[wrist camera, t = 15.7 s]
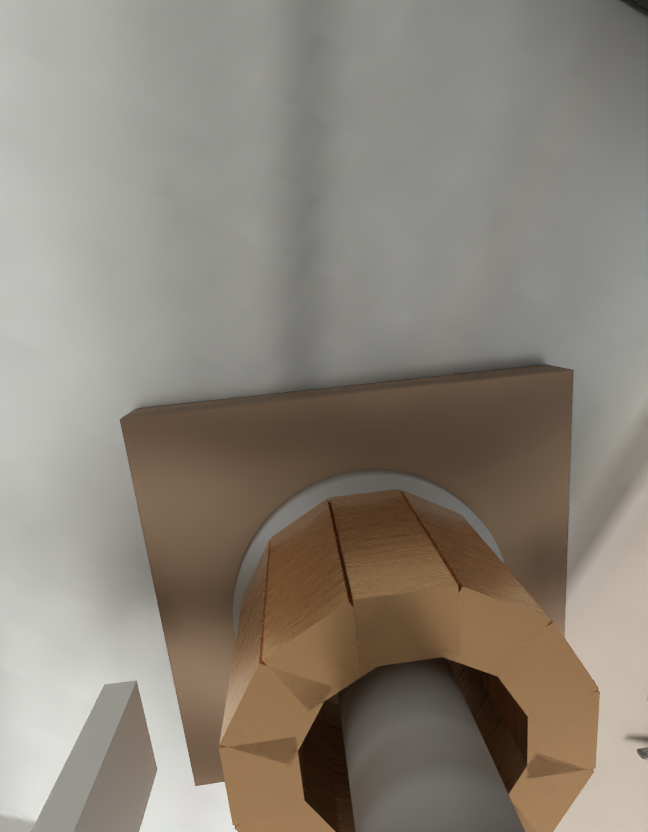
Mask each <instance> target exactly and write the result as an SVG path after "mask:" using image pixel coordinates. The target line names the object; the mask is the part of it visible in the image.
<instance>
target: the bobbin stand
mask: <svg viewBox="0 0 648 832" xmlns="http://www.w3.org/2000/svg"><path fill="white" fill-rule="evenodd" d="M572 395H573V370H571V369H566V368H561V367H556V366H551V365H538V366H529V367H520V368H510V369H501V370H492V371H483V372H473V373H464V374H455V375H445V376H436V377H427V378H417V379H408V380H399V381H390V382H380V383H371V384H362V385H352V386H343V387H334V388H324V389H315V390H306V391H296V392H287V393H278V394H269V395H259V396H250V397H241V398H231V399H222V400H213V401H203V402H194V403H185V404H175V405H166V406H157V407H148V408H138V409H135V410H134V411H132V412H130V413H129V414H127V415H126V416H124V417H123V418H121V419H120V423H121V427H122V432H123V437H124V442H125V447H126V452H127V456H128V461H129V466H130V471H131V476H132V481H133V486H134V490H135V495H136V500H137V505H138V510H139V515H140V519H141V524H142V529H143V534H144V539H145V544H146V549H147V553H148V558H149V563H150V568H151V573H152V578H153V583H154V587H155V592H156V597H157V602H158V607H159V612H160V616H161V621H162V626H163V631H164V636H165V641H166V646H167V650H168V655H169V660H170V665H171V670H172V675H173V679H174V684H175V689H176V694H177V699H178V704H179V709H180V713H181V718H182V723H183V728H184V733H185V738H186V743H187V747H188V752H189V757H190V762H191V767H192V772H193V776H194V781H195V786H199V785H205V784H212V783H218V782H225V779H224V774H223V769H222V763H221V758H220V752H219V743H220V737H221V730H222V724H223V718H224V712H225V705H226V699H227V693H228V686H229V680H230V674H231V667H232V661H233V655H234V649H235V642H236V636H237V630H238V623H239V617H240V611H241V605H242V598H243V595H244V593H245V590H246V588H247V586H248V584H249V582H250V580H251V578H252V575H253V573H254V571H255V569H256V567H257V565H258V562H259V560H260V558H261V556H262V554H263V552H264V550H265V547H266V545H267V543H268V541H269V540H271V537H272V536H274V535H275V534H277V533H278V532H279V531H281V530H282V529H284V528H285V527H287V526H288V525H289V524H291V523H292V522H294V521H295V520H297V519H298V518H299V517H301V516H302V515H304V514H305V513H307V512H308V511H310V510H311V509H312V508H314V507H315V506H317V505H318V504H320V503H321V502H322V501H324V500H325V499H328V500H329V502H330V497H336V496H344V495H353V494H361V493H369V492H377V491H386V490H394V489H399V491H401V489H402V490H404V491H406V492H409V493H411V494H414V495H416V496H418V497H421V498H423V499H426V500H428V501H431V502H433V503H435V504H438V505H440V506H443V507H445V508H448V509H450V510H452V511H455V512H457V513H460V514H461V515H462V516H463V517H464V518H465V519H466V520H467V521H468V523H469V524H470V525H471V526H472V527H473V528H474V530H475V531H476V532H477V533H478V534H479V535H480V537H481V538H482V539H483V540H484V541H485V542H486V544H487V545H488V546H489V547H490V548H491V549H492V551H493V552H494V553H495V554H496V555H497V556H498V558H499V559H500V560H501V561H502V562H503V563H504V565H505V566H506V567H507V568H508V569H509V570H510V572H511V573H512V574H513V575H514V576H515V577H516V579H517V580H518V581H519V582H520V583H521V585H522V586H523V587H524V588H525V589H526V590H527V592H528V593H529V594H530V595H531V596H532V597H533V599H534V600H535V601H536V602H537V603H538V604H539V606H540V607H541V608H542V609H543V610H544V611H545V613H546V614H547V615H548V616H549V617H550V618H551V620H552V621H553V622H554V623H555V625H556V626H557V628H558V629H559V631H560V632H561V634H562V635H563V637H564V635H565V605H566V575H567V545H568V515H569V485H570V455H571V425H572ZM338 700H339V708H340V716H341V723H342V731H343V739H344V746H345V754H346V762H347V770H348V777H349V785H350V793H351V800H352V808H353V816H354V823H355V831H356V832H525V829H524V827H523V825H522V823H521V821H520V819H519V816H518V814H517V812H516V810H515V808H514V805H513V803H512V801H511V799H510V797H509V794H508V792H507V790H506V788H505V786H504V783H503V781H502V779H501V777H500V775H499V773H498V770H497V768H496V766H495V764H494V762H493V759H492V757H491V755H490V753H489V751H488V748H487V746H486V744H485V742H484V740H483V737H482V735H481V733H480V731H479V729H478V727H477V724H476V722H475V720H474V718H473V716H472V713H471V711H470V709H469V707H468V705H467V702H466V700H465V698H464V696H463V694H462V691H461V689H460V687H459V685H458V683H457V681H456V678H455V676H454V674H453V672H452V670H451V667H450V665H449V663H448V661H447V659H446V658H444V657H439V658H432V659H425V660H418V661H411V662H404V663H397V664H390V665H383V666H377V667H376V668H374V669H373V670H371V671H370V672H368V673H367V674H365V675H364V676H362V677H361V678H359V679H358V680H356V681H355V682H353V683H352V684H350V685H348V686H347V687H345V688H344V689H342V690H341V691H339V692H338Z"/></svg>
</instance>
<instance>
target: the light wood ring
mask: <svg viewBox="0 0 648 832" xmlns="http://www.w3.org/2000/svg"><path fill="white" fill-rule="evenodd" d="M439 657H444V658H446V659H447V661H448V663H449V665H450V667H451V670H452V672H453V674H454V676H455V678H456V681H457V683H458V685H459V687H460V689H461V691H462V694H463V696H464V698H465V700H466V702H467V705H468V707H469V709H470V711H471V713H472V716H473V718H474V720H475V722H476V724H477V727H478V729H479V731H480V733H481V735H482V737H483V740H484V742H485V744H486V746H487V748H488V751H489V753H490V755H491V757H492V759H493V762H494V764H495V766H496V768H497V770H498V773H499V775H500V777H501V779H502V781H503V783H504V786H505V788H506V790H507V792H508V794H509V797H510V799H511V801H512V803H513V805H514V808H515V810H516V812H517V814H518V816H519V819H520V821H521V823H522V825H523V827H524V829H525V832H553V831H554V829H555V828H556V827H557V825H558V824H559V822H560V821H561V819H562V818H563V816H564V815H565V813H566V812H567V810H568V809H569V808H570V806H571V805H572V803H573V802H574V800H575V799H576V797H577V796H578V794H579V793H580V791H581V790H582V789H583V787H584V786H585V784H586V783H587V781H588V780H589V778H590V777H591V775H592V774H593V773H594V771H593V769H594V768H595V766H596V748H597V730H598V713H599V695H600V692H599V690H598V689H599V688H598V687H597V685H596V684H595V682H594V681H593V679H592V678H591V676H590V675H589V673H588V672H587V670H586V669H585V667H584V666H583V664H582V663H581V662H580V660H579V659H578V657H577V656H576V654H575V653H574V651H573V650H572V648H571V647H570V645H569V644H568V642H567V641H566V639H565V638H564V637H563V635H562V634H561V632H560V631H559V629H558V628H557V626H556V625H555V623H554V622H553V621H552V620H551V618H550V617H549V616H548V615H547V614H546V613H545V611H544V610H543V609H542V608H541V607H540V606H539V604H538V603H537V602H536V601H535V600H534V599H533V597H532V596H531V595H530V594H529V593H528V592H527V590H526V589H525V588H524V587H523V586H522V585H521V583H520V582H519V581H518V580H517V579H516V577H515V576H514V575H513V574H512V573H511V572H510V570H509V569H508V568H507V567H506V566H505V565H504V563H503V562H502V561H501V560H500V559H499V558H498V556H497V555H496V554H495V553H494V552H493V551H492V549H491V548H490V547H489V546H488V545H487V544H486V542H485V541H484V540H483V539H482V538H481V537H480V535H479V534H478V533H477V532H476V531H475V530H474V528H473V527H472V526H471V525H470V524H469V523H468V521H467V520H466V519H465V518H464V517H463V516H462V515H461V514H460V513H457V512H455V511H452V510H450V509H448V508H445V507H443V506H440V505H438V504H435V503H433V502H431V501H428V500H426V499H423V498H421V497H418V496H416V495H414V494H411V493H409V492H406V491H404V490H402V489H401V491H399V489H394V490H386V491H377V492H369V493H361V494H353V495H344V496H336V497H330V502H329V500H328V499H325V500H324V501H322V502H321V503H320V504H318V505H317V506H315V507H314V508H312V509H311V510H310V511H308V512H307V513H305V514H304V515H302V516H301V517H299V518H298V519H297V520H295V521H294V522H292V523H291V524H289V525H288V526H287V527H285V528H284V529H282V530H281V531H279V532H278V533H277V534H275V535H274V536H272V537H271V540H269V541H268V543H267V545H266V547H265V550H264V552H263V554H262V556H261V558H260V560H259V562H258V565H257V567H256V569H255V571H254V573H253V575H252V578H251V580H250V582H249V584H248V586H247V588H246V590H245V593H244V595H243V598H242V605H241V611H240V617H239V623H238V630H237V636H236V642H235V649H234V655H233V661H232V667H231V674H230V680H229V686H228V693H227V699H226V705H225V712H224V718H223V724H222V730H221V737H220V743H219V752H220V758H221V763H222V769H223V774H224V779H225V785H226V790H227V795H228V801H229V806H230V812H231V817H232V822H233V825H235V829H236V830H237V831H238V832H356V831H355V823H354V816H353V808H352V800H351V793H350V785H349V777H348V770H347V762H346V754H345V746H344V739H343V731H342V723H341V716H340V708H339V700H338V692H339V691H341V690H342V689H344V688H345V687H347V686H348V685H350V684H352V683H353V682H355V681H356V680H358V679H359V678H361V677H362V676H364V675H365V674H367V673H368V672H370V671H371V670H373V669H374V668H376V667H377V666H383V665H390V664H397V663H404V662H411V661H418V660H425V659H432V658H439Z"/></svg>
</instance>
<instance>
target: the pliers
mask: <svg viewBox="0 0 648 832" xmlns="http://www.w3.org/2000/svg"><path fill="white" fill-rule="evenodd" d="M637 752H638V754H639V755H640V756H641V758H643V759H646V760H648V747H647V748H641V749H637Z"/></svg>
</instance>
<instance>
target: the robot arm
mask: <svg viewBox="0 0 648 832" xmlns="http://www.w3.org/2000/svg"><path fill="white" fill-rule="evenodd" d="M633 1H634V2H636V3H638V4H639V5H641V6H643V7H644V8H646V9H648V0H633ZM156 772H157V766H156V762H155V758H154V754H153V749H152V745H151V741H150V736H149V732H148V728H147V723H146V719H145V715H144V711H143V706H142V702H141V698H140V693H139V689H138V685H137V681H129V682H122V683H114V684H107V685H104V687H103V689H102V691H101V693H100V695H99V697H98V699H97V701H96V703H95V705H94V707H93V709H92V711H91V713H90V715H89V717H88V719H87V721H86V723H85V725H84V727H83V729H82V731H81V733H80V735H79V737H78V739H77V741H76V743H75V745H74V747H73V749H72V751H71V753H70V755H69V757H68V759H67V761H66V763H65V765H64V767H63V769H62V771H61V773H60V775H59V777H58V779H57V781H56V783H55V785H54V787H53V789H52V791H51V793H50V795H49V797H48V799H47V801H46V803H45V805H44V807H43V809H42V811H41V813H40V815H39V817H38V819H37V821H36V823H35V825H34V827H33V829H32V831H31V832H139V830H140V826H141V823H142V820H143V816H144V813H145V809H146V806H147V802H148V799H149V796H150V792H151V789H152V785H153V782H154V778H155V775H156Z"/></svg>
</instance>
